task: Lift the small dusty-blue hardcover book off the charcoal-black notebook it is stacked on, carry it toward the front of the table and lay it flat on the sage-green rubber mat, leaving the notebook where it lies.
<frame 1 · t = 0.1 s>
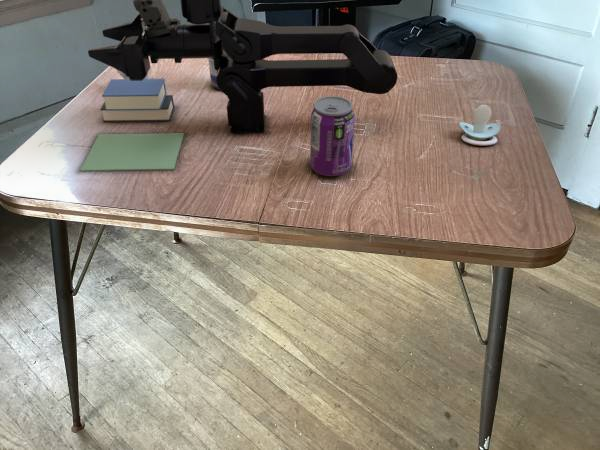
hand: (96, 42, 94), 17 cm above the table, tool horizontal, fingers open, 9 cm apart
frog figurine: (137, 89, 118), on the table
green mat: (134, 152, 98), on the table
beverage can: (330, 168, 94), on the table
blue book: (137, 101, 107), point 3 cm above the table, touching black notebook
pacifier: (477, 139, 101), on the table
pill bottle: (225, 85, 119), on the table
black notebook: (139, 114, 109), on the table, touching blue book
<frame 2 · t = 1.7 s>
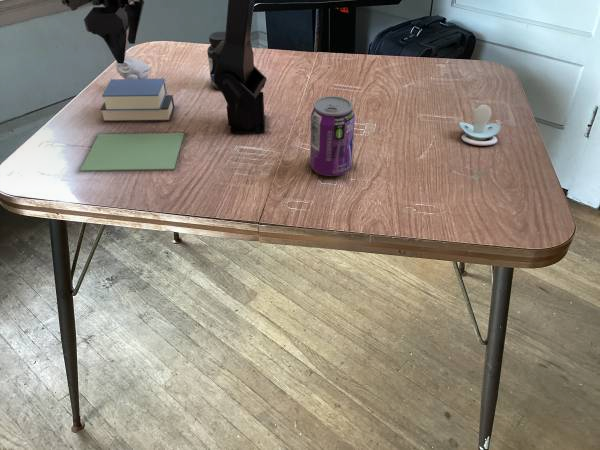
hand: (126, 53, 101), 13 cm above the table, tool pointing down, fingers open, 9 cm apart
nothing on the table moved.
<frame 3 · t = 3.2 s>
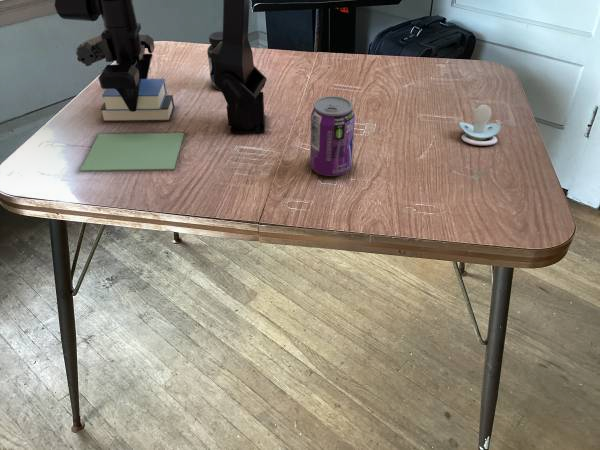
hand: (137, 102, 107), 3 cm above the table, tool pointing down, fingers closed on blue book, 7 cm apart
blue book: (137, 101, 107), point 3 cm above the table, touching black notebook, gripper
everything else where it was.
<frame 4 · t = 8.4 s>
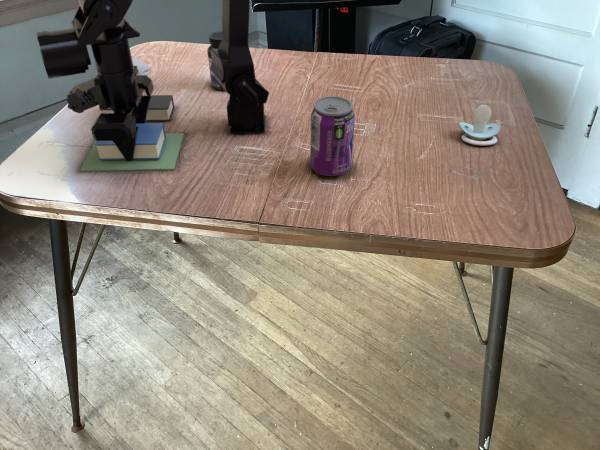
hand: (134, 149, 98), 1 cm above the table, tool pointing down, fingers closed on blue book, 7 cm apart
blue book: (133, 149, 98), point 1 cm above the table, touching gripper
black notebook: (139, 114, 109), on the table
everything else where it was.
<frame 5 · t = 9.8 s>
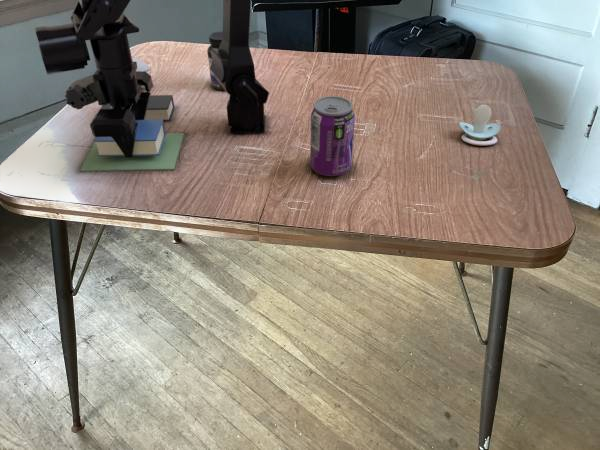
hand: (133, 145, 97), 1 cm above the table, tool pointing down, fingers closed on blue book, 7 cm apart
blue book: (133, 145, 97), point 1 cm above the table, touching gripper
everything else where it was.
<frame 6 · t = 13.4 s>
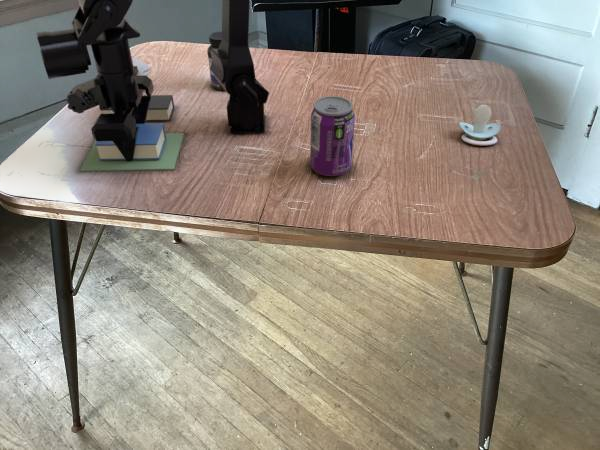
hand: (134, 149, 98), 1 cm above the table, tool pointing down, fingers closed on blue book, 7 cm apart
blue book: (133, 149, 98), point 1 cm above the table, touching gripper
everything else where it was.
when the fingers open (1 cm above the table, at t = 16.7 s): blue book drops 1 cm, resting on green mat.
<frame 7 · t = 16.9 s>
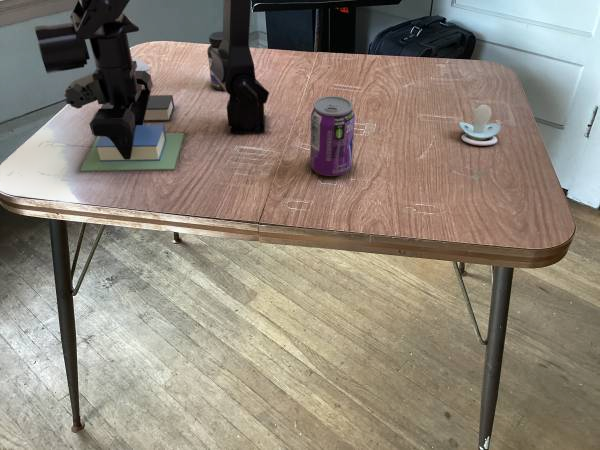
hand: (133, 145, 97), 1 cm above the table, tool pointing down, fingers open, 9 cm apart
blue book: (134, 150, 98), resting on green mat
everything else where it was.
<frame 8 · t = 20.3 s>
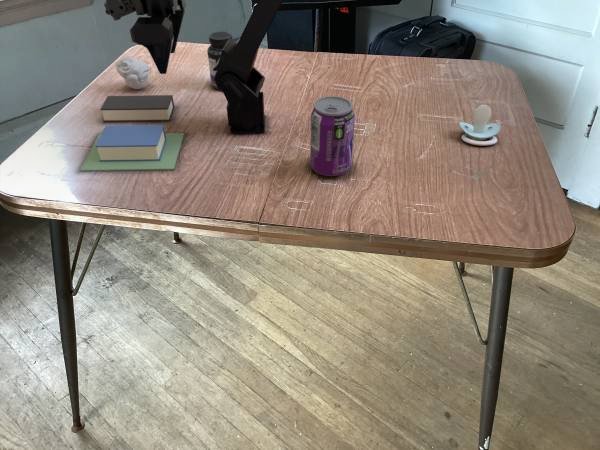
hand: (167, 62, 99), 12 cm above the table, tool pointing down, fingers open, 9 cm apart
nothing on the table moved.
at the end: blue book inside the target area on the green mat (0.1 cm from its centre), point 0.3 cm above the green mat's base; blue book touching green mat; black notebook moved 0.0 cm from its start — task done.
